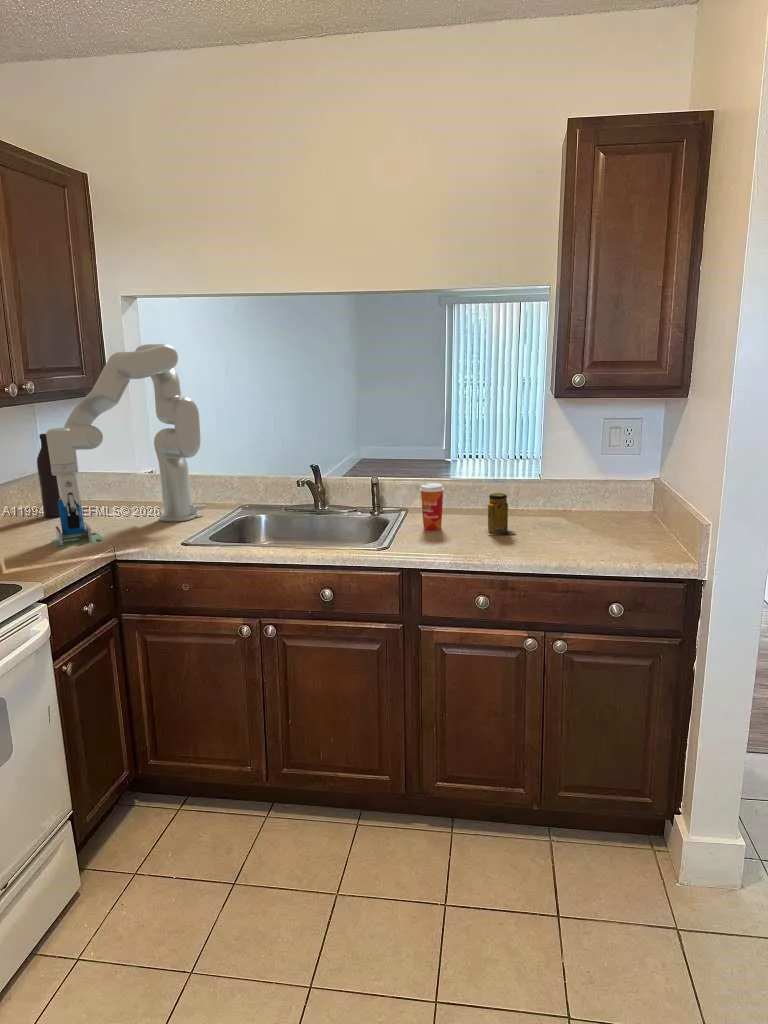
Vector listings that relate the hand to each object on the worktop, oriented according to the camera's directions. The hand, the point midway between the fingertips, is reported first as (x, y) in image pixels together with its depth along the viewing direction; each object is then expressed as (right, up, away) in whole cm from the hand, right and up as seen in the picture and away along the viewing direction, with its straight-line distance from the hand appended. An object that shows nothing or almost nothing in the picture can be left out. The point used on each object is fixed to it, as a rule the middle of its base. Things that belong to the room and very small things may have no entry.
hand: (72, 525), depth 221 cm
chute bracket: (0, -5, +1) cm, 5 cm away
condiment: (+133, -2, 0) cm, 133 cm away
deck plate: (+1, -6, +2) cm, 6 cm away
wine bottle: (-24, +2, +40) cm, 46 cm away
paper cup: (+112, -1, +7) cm, 112 cm away
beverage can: (0, -3, +1) cm, 3 cm away
